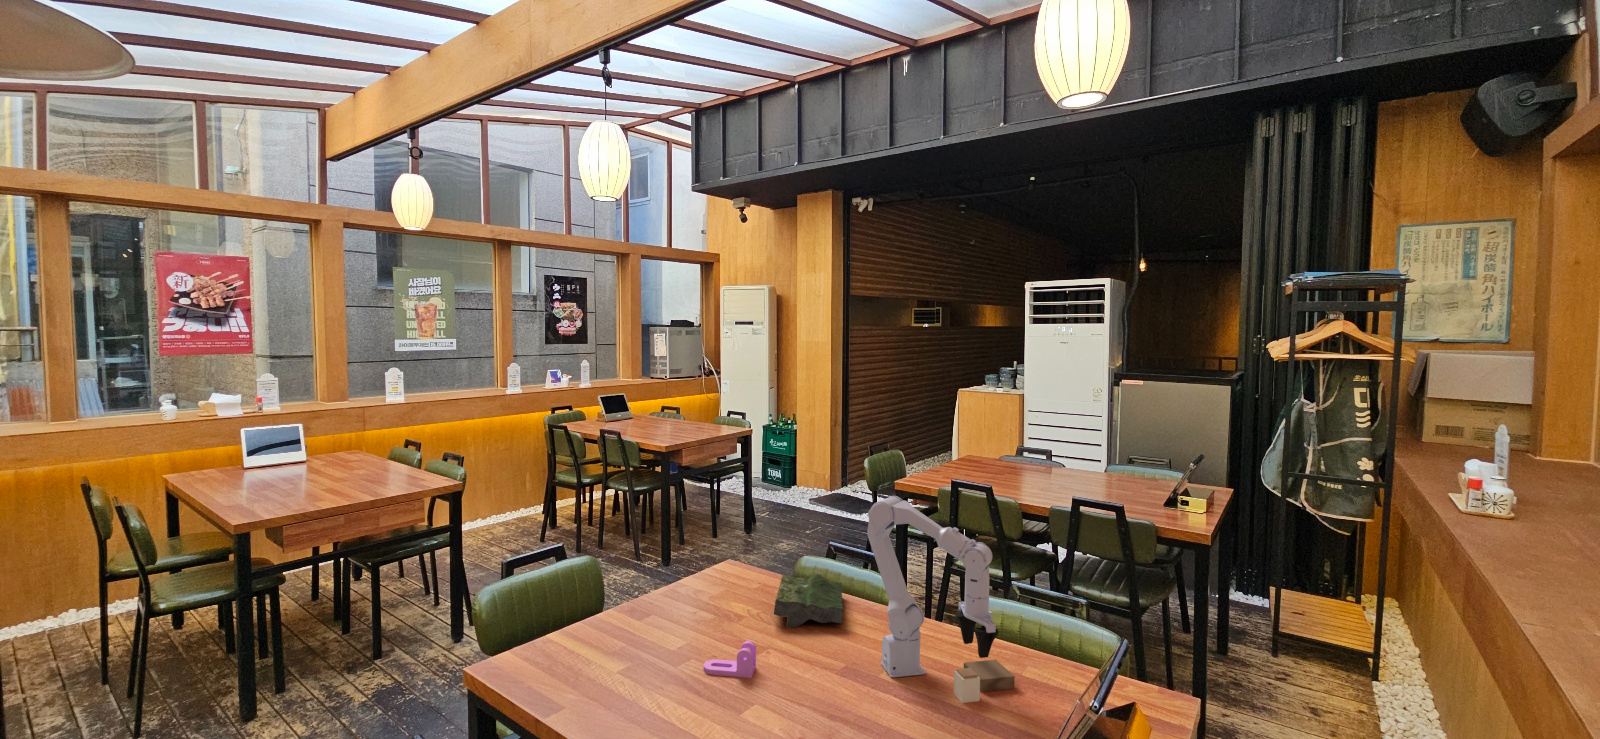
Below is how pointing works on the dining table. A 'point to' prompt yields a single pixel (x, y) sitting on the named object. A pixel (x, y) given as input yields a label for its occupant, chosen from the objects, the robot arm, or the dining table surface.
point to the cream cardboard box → (966, 685)
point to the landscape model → (809, 600)
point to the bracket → (735, 663)
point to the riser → (991, 675)
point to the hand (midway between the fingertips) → (975, 649)
